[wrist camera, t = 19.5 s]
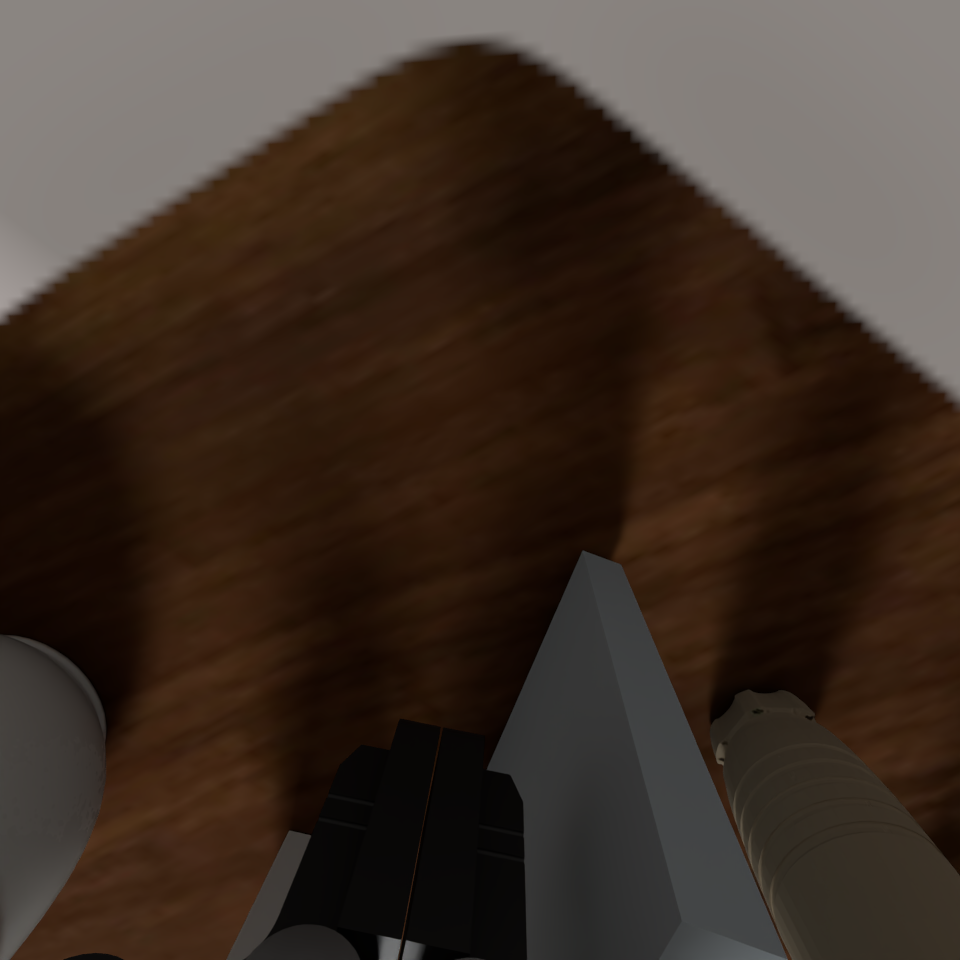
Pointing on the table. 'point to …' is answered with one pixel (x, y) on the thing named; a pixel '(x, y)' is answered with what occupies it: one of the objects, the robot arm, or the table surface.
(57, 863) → the lidded jar
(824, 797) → the tan tapered grip
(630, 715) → the door
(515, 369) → the table surface
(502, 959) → the robot arm
